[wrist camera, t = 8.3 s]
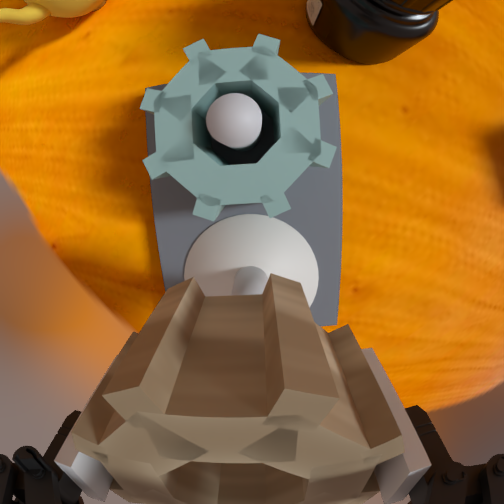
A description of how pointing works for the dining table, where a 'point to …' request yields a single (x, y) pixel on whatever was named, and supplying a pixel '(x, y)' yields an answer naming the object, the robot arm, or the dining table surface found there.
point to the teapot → (49, 10)
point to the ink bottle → (372, 26)
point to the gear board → (247, 174)
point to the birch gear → (239, 405)
